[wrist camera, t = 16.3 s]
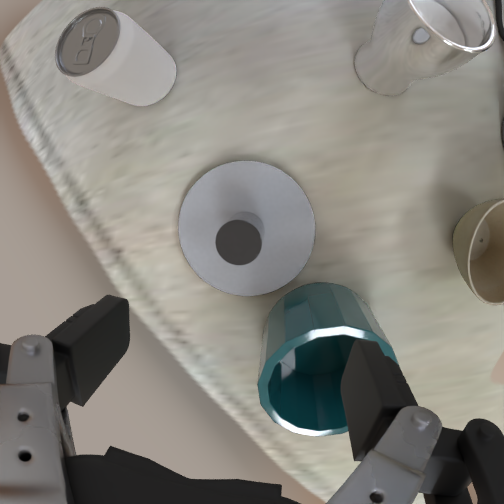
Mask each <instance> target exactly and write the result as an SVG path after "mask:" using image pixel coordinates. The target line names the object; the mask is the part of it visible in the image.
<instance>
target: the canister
mask: <svg viewBox="0 0 504 504" xmlns="http://www.w3.org/2000/svg"><path fill="white" fill-rule="evenodd" d="M356 339H359V340H369V341H377V342H378V344H379V346H380V348H381V350H382V352H383V354H384V356H389V357H390V358H391V359H392V360H394V361H395V362H396V363H397V364H398V361H397V359H396V356H395V354H394V351H393V349H392V347H391V345H390V343H389V341H388V340H387V338H386V336H385V334H384V333H383V331H382V329H381V327H380V326H379V324H378V322H377V321H376V319H375V317H374V315H373V314H372V312H371V310H370V309H369V307H368V305H367V304H366V302H365V301H363V300H362V298H361V297H359V296H358V295H357V294H356V293H355V292H353V291H352V290H350V289H348V288H346V287H344V286H341V285H338V284H333V283H313V284H308V285H305V286H301V287H299V288H297V289H294V290H293V291H291V292H289V293H288V294H286V295H285V296H284V297H282V298H281V299H280V300H279V301H278V302H277V303H276V305H275V306H274V307H273V309H272V310H271V312H270V313H269V316H268V318H267V321H266V325H265V328H264V331H263V340H262V349H261V358H260V366H259V375H258V383H257V385H258V391H259V398H260V404H261V406H262V407H263V408H264V410H265V411H266V412H267V414H268V415H269V416H270V417H271V419H272V420H273V421H274V422H275V423H277V424H279V425H281V426H282V427H284V428H286V429H288V430H290V431H292V432H294V433H299V434H305V435H311V436H327V435H335V434H342V433H345V432H347V431H348V426H347V420H346V415H345V410H344V405H343V401H342V396H341V380H342V376H343V373H344V370H345V367H346V364H347V361H348V358H349V355H350V352H351V349H352V346H353V343H354V342H355V340H356ZM398 365H399V364H398Z"/></svg>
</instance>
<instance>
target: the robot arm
mask: <svg viewBox="0 0 504 504" xmlns="http://www.w3.org/2000/svg"><path fill="white" fill-rule="evenodd" d="M496 20H497V26H498V30H499V33H500V35H501V37H502V39H503V41H504V28H503V23H502V4H501V0H496ZM502 140H503V146H504V119H503V124H502ZM129 341H130V326H129V303H128V300H127V299H124V298H120V297H115V296H112V295H106V296H105V297H104V298H102V299H101V300H100V301H98V302H97V303H96V304H92V305H89V306H87V307H84V308H82V309H80V310H79V311H77V312H76V313H75V314H73V316H71V317H69V318H68V319H67V320H66V322H65V321H64V322H63V323H62V324H60V325H59V326H58V327H57V328H55V329H54V330H53V331H52V332H50V333H49V334H48V335H47V336H45V337H44V336H41V335H27V336H23V337H20V338H19V339H17V340H16V341H14V342H13V344H12V345H7V344H1V343H0V504H300V503H298V502H296V501H293V500H291V499H288V498H285V497H282V496H281V489H282V485H280V484H270V483H262V482H254V481H247V480H240V479H221V480H220V479H219V480H218V479H217V480H216V479H215V480H209V479H189V478H186V477H184V476H182V475H180V474H178V473H176V472H174V471H172V470H170V469H168V468H166V467H164V466H161V465H160V464H158V463H156V462H154V461H152V460H150V459H148V458H145V457H142V456H139V455H135V454H132V453H129V452H127V451H124V450H121V449H118V448H115V447H112V446H110V447H109V449H108V450H107V452H106V454H105V455H104V456H103V455H76V452H75V447H74V442H73V438H72V432H71V427H70V421H69V415H68V410H67V405H68V404H69V402H73V403H75V404H78V405H80V406H82V407H83V406H84V405H85V403H86V402H87V401H88V400H89V398H90V397H91V396H92V394H93V393H94V392H95V391H96V389H97V388H98V387H99V386H100V384H101V383H102V381H103V380H104V379H105V378H106V377H107V375H108V374H109V373H110V372H111V370H112V369H113V368H114V367H115V365H116V364H117V363H118V362H119V360H120V359H121V358H122V357H123V355H124V354H125V353H126V351H127V349H128V346H129ZM406 382H407V381H406V379H405V377H404V376H403V373H402V371H401V369H400V367H399V365H398V364H397V363H396V362H395V361H394V360H392V359H391V358H390V357H389V356H384V354H383V352H382V350H381V348H380V346H379V344H378V342H377V341H369V340H359V339H356V340H355V342H354V343H353V346H352V349H351V352H350V355H349V358H348V361H347V364H346V367H345V370H344V373H343V376H342V380H341V396H342V401H343V405H344V410H345V415H346V420H347V426H348V431H349V436H350V441H351V447H352V452H353V458H354V461H362V462H361V463H360V464H359V465H358V467H357V468H356V469H355V470H354V472H353V473H352V474H351V475H350V477H349V478H348V479H347V480H346V481H345V483H344V484H343V485H342V486H341V487H340V488H339V489H338V491H337V492H336V493H335V494H334V495H333V496H332V497H331V498H330V500H329V501H328V502H327V503H326V504H412V503H413V501H414V499H415V497H416V496H417V494H418V492H419V493H423V494H424V499H425V503H426V504H473V503H472V500H471V497H470V494H469V492H468V488H467V486H469V484H470V483H471V482H473V486H474V488H475V491H476V494H477V498H478V502H477V504H504V435H503V434H502V432H501V430H500V429H499V428H498V427H497V426H496V425H495V424H494V423H492V422H490V421H488V420H485V419H473V420H471V421H469V422H468V424H467V425H466V427H465V428H464V430H463V431H460V430H454V429H449V428H444V427H442V423H441V421H440V419H439V417H438V416H437V415H436V414H435V413H433V412H432V411H430V410H429V409H426V408H424V407H420V406H418V404H417V402H416V400H415V398H414V396H413V394H412V392H411V390H410V387H409V385H408V383H406Z"/></svg>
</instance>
